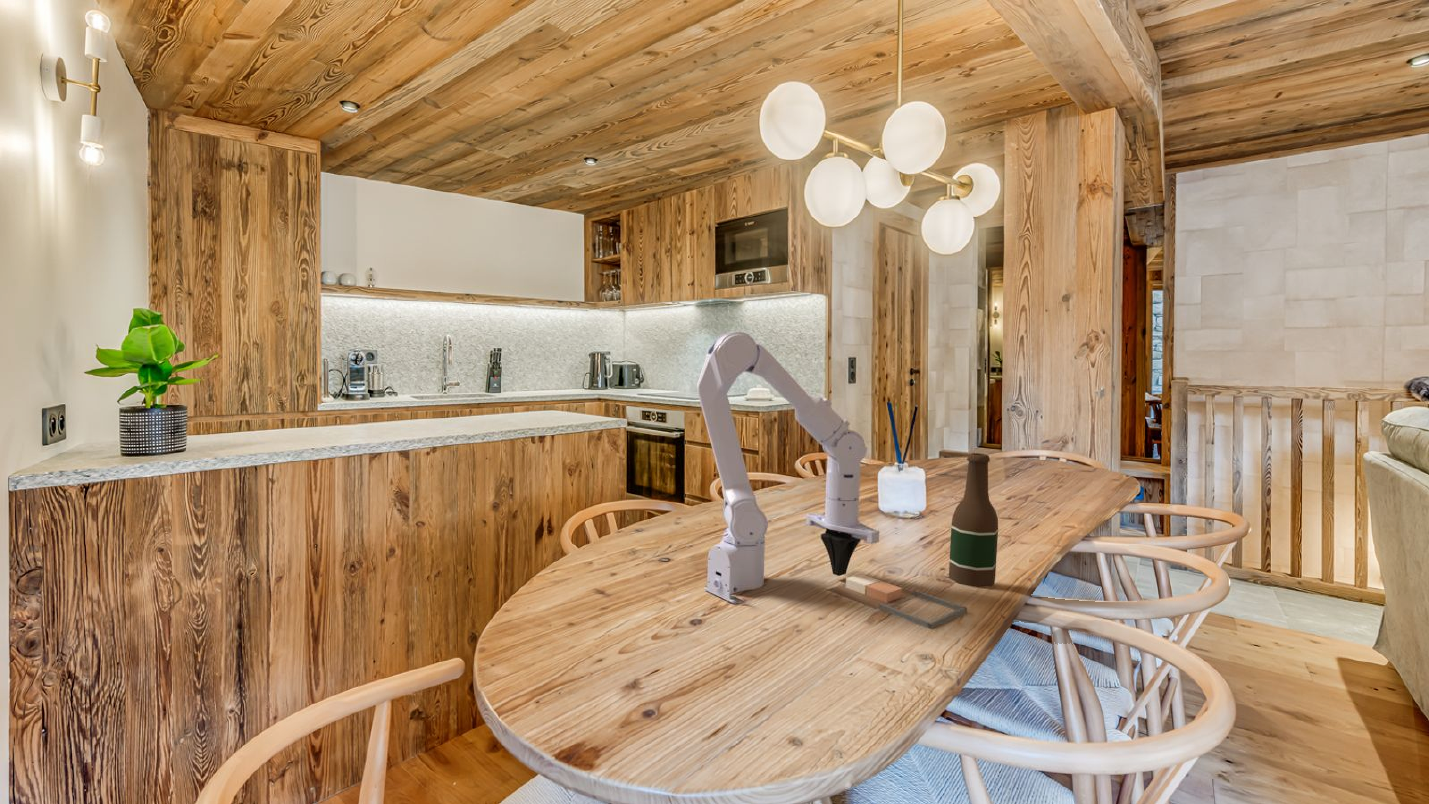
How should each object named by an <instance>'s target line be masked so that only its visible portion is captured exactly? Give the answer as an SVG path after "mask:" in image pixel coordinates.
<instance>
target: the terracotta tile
mask: <svg viewBox="0 0 1429 804" xmlns="http://www.w3.org/2000/svg"><path fill="white" fill-rule="evenodd" d="M902 588H903V587H899V586H897V585H894V584H891V583H888V582H885V581H882V580H880V582H877V583H875V584H872V585H869V586H867V592H866V595H868V596H870V597H873V598H876V599H878V600H881V601H884V602H886V603H887V602H890V601H893V600H895V599H898V598H901V597H902Z"/></svg>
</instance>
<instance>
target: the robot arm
mask: <svg viewBox="0 0 1429 804" xmlns="http://www.w3.org/2000/svg"><path fill="white" fill-rule="evenodd" d="M703 362H704V363H703V365H702V369H701V372H700V375H699V377H698V380H697V383H696V392H697V395H698V396H697V397H698V400H699V403H700V407H701V411H702V414H703V418H704V422H705V426H706V430H707V433H708V437H709V441H710V445H711V450H712V452H713V453H712V454H713V456H714V460H715V464H716V467H717V472H718V474H719V475H718V476H719V479H720V482H721V483H720V484H721V487H722V496H723V499H724V500H723V502H724V505H723V508H722V509H723V510H722V517H723V520H724V522H725V524H726V526H727V528H726V529H725V531H724V533H723V534H722V539H721V540H720V542H719V543H717V544H716V545H713V546H711V548H710V549H709V552H708V555H707V573H706V574H707V578H706V579H707V580H706V585H705V586H704V587H703V589H704V591H706V592H708V593H711V594H712V595H715V596H716V597H719V598H721V599H723V600H725V601H727V602H730V603H732V604H737V603H740V602H743V601H744V600H742V598H741V599H740V598H738V597H736V596H735V595H732V594H736V593H739V592H743V591H749V590H756V589H759V588H760V587H761V588H762V586H763V585H764V583H765V575H764V574H765V552H766V551H765V550H766V534H767V532H768V528H769V527H768V526H769V521H768V518H767V516H766V515H765V513H764V512H763V510H762V509H760V507H759V505H758V502H757V499H756V496H755V493H754V490H753V488H752V486H751V483H750V478H749V475H748V471H747V466H746V464H745V463H746V461H745V459H744V455H743V451H742V448H741V447H742V446H741V443H740V439H739V436H738V435H739V434H738V432H737V427H736V424H735V420H734V417H733V412H732V409H731V404H730V400H729V396H728V393H729V391H730V389H731V388H732V386H733V384H734V383H735V382H736V380H737V378H739V377H740V375H742V374H743V373H744V372H746V373H747V374H748V373H749V374H753V375H755V376H759V377H761V378H762V379H764V380H765V381H766V383H768V384H769V385H770V387H772V388H773V389H774V390H775V391H776V392H777V393H778V394H780V395H781V396H782V398H784V399H785V400H786V401H787V402H788V403H789V404H790V405H791V406H792V407H793V408H794V418H795V420H796V422H797V423H798V424H799V425H800V426H801V427H802V428H803V429H804V430H806V432H807V433H809V435H810V436H811V437H812V438H813V439H814V440H815V441H817V443H818V444H819V445H820V446H822V449H823V452H824V453H825V454H827V455H828V456H827V460H826V461H827V462H826V464H827V466H826V476H825V477H826V478H825V479H826V480H825V481H826V482H825V502H824V503H825V504H824V505H825V507H824V510H825V511H824V514H820V513H815V512H813V513H808V514H806V523H805V524H806V525H807V526H810V527H812V526H814V527H818V528H821V529H825V531H824V533H821V534H820V539H821V541H822V543H823V545H824V547H825V550H826V551H827V554H828V557H829V561H830V566H831V570H832V574H833V575H835V576H838V577H840V576H843V575H846V574H847V570H848V567H849V564H850V561H851V558H852V555H853V554H854V552H855V549H856V548H857V546H858V544H860V542H861V540H862V541H866V543H867V544H870V545H873V544H876V543H879V542H880V530H878V529H876V528H875V529H874V528H872V527H869V526H868V525H866V524H863V523H862V522H860V520H859V510H860V509H859V508H860V489H861V488H860V487H861V485H860V484H861V462H862V461H863V459H864V458H865V457H866V454H867V451H868V447H866V444H865V440H864V438H863V436H862V435H861V434H860V433H859V432H857V431H854V430H852V429H849V426H850V424H851V423H850V422H849V421H848V419H846V418H845V419H843V418H842V417H841V416H840V415H839V414H838V413H837V412H836V411H835V410H834V409H833V408H832V407H831V406H832V405H833V403H832V402H831V400H829V398H826V397H825V398H822V397H821V396H819V395H809V394H808V393H807V392H806V391H805V390H804V388H802V387H801V385H800V384H799V383H798V382H797V380H795V378H793V376H792V375H791V374H790V373H789V371H787V370H786V369H785V368H784V366H783V365H781V363H780V362H779V361H778V360H777V359H776V358H775V357H774V356H773V355H772V353H770V352H769V351H768V349H766V348H765V347H764V346H762V345H761V344H760V343H756V341H755V340H754V338H753V337H752V336H751V335H750V334H748V333H746V332H743V331H733V332H729V333H724V334H721V335H719V336H718V337H717V338H716V340H714V342H713V343H712V344H711V346H710V347H709V348H708V349H707V352H706V356H705V360H704V361H703Z"/></svg>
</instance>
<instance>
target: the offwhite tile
mask: <svg viewBox="0 0 1429 804" xmlns="http://www.w3.org/2000/svg"><path fill="white" fill-rule="evenodd" d="M880 581H881V580H880V579H877V578H874V577H871V576H868V575H866V574H863V573H860V574H856V575H853V576H849V577H847V578H845V583H846V588H849V589H852V590H854V591H857V592H860V593H862V594H866V592H867V586H869V585H872V584H875V583H877V582H880Z"/></svg>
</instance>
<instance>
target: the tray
mask: <svg viewBox="0 0 1429 804" xmlns="http://www.w3.org/2000/svg"><path fill="white" fill-rule="evenodd" d="M913 592H914V595H912V596H909V597H906V598H904V599H901V600H899V601H896V602H893V603H891V604H888V605H884V604H879V608H878V609H879V610H881V611H884V612H886V613H888V614H892V615H894V616H896V617H899V618H901V619H904V620H907V621H909V622H912V623H913V624H916V625H919V626H922V627H925V628H928V629H933V628H936V627H938V626H940V625H942V624H945V623H947V622H949V621H951V620H954V619H955V618H957V617H960V616H962V615H964V614H966V613H967V612H968V608H967V607H966V606H963V605H960V604H958V603H955V602H951V601H949V600H945V599H943V598H940V597H937V596H934V595H930V594H928V593H924V592H922V591H920V590H914V591H913ZM916 597H918V598H921V599H924V600H926V601H930V602H931V603H935V604H938V605H940V606H943V607H946V608H949V609H952V610H954V611H951V612H948V613H946V614H944V615H942V616H939V617H937V618H935V619H933V620H930V621H929V620H926V619H924V618H921V617H918V616H915V615H912V614H910V613H907V612H905V611H901V610H900V609H896V608H895V607H893V606H895V605H898V604H900V603H903V602H906V601H908V600H911V599H914V598H916Z"/></svg>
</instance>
